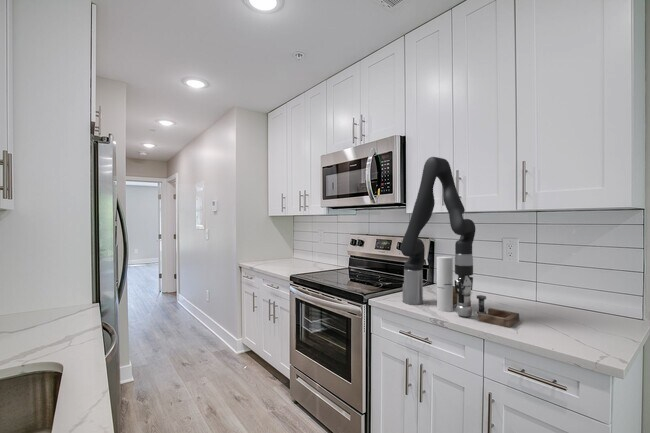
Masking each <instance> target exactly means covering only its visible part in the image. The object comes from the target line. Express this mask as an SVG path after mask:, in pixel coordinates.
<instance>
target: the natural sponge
mask: <svg viewBox="0 0 650 433" xmlns="http://www.w3.org/2000/svg"><path fill="white" fill-rule="evenodd" d="M457 300H458V294H457V293H456V292H455V285H453V307H454V306H457Z"/></svg>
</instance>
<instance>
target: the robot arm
mask: <svg viewBox="0 0 650 433" xmlns="http://www.w3.org/2000/svg"><path fill="white" fill-rule="evenodd" d="M437 178H438V180H439V182H440V183H441V185H442V189H443V190H442V191H443V192H442V193H443V194H442V198H443V203H444V206H445V208H446V210H447V213H448V216H449V223H450V227H451V229H452V231H453V233H454V234H455V235H458V236H459V239H458V240H456V241H455V244H454V245H455V247H454V248H455V253H454V273H455V275H457V279H458V280H457V279H456V280H455V279H454V282H453V283H454V286H455V292H456V293H457V294H458V302H459V303H464V290H465V286H464V287H462V286H461V284H464V280H465V276H468V278H469V279H470V281H471V283H472V286H471V291H473V287H474V286H473V285H474V284H473V283H474V277H473V275H474V257H473V256H474V255H473V243H474V239H475V236H476V225H475V222H474V221H473V220H472V219H468V218H464V217H463V214H464V213H465V212H466V210H465V206H464V204H463V202H462V200H461V198H460V196H459V192H458V190H457V187H456V184H455V180H454V177H453V172H452V168H451V165H450V163H449V161H448V160H447V159H445V158H443V157H436V156H431V157H429V158H427V159H426V160H425V162H424V165H423V168H422V174H421V179H420V180H421V181H420V185H419V188H418V192H417V196H416V199H415V202H414V205H413V209H412V212H411V217H410V220H409V223H408V226H407V229H406V231H405V233H404V236H403V238H402V241H401V245H400V252H401V253H402V255H403V256H405V257H408V260H406V262H405V263H404V264H403V283H402V303H405V304H407V305H414V306H415V305H416V306H417V305H418V306H419V305H422V304H423V303H424V302H423V301H424V300H423V299H424V291H423V290H424V288H423V287H424V285H423V284H424V282H423V281H424V280H423V279H424V277H423V275H424V274H423V268H424V267H423V266H424V264H425V243H424V241H423V240H422V239H421V238H419V236H420V233H421V232H422V230H423V229H424V228H425V226H426V225H427V224H428V222H429V221H430V219H431V218H432V214H433V211H434V208H435V196H434V194H435V193H434V187H435V182H436V179H437ZM466 282H467V280H466Z"/></svg>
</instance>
